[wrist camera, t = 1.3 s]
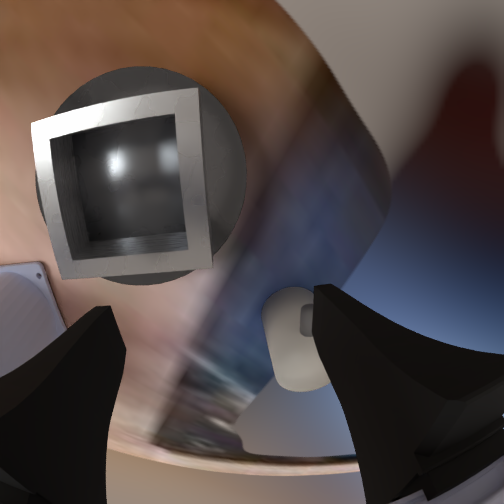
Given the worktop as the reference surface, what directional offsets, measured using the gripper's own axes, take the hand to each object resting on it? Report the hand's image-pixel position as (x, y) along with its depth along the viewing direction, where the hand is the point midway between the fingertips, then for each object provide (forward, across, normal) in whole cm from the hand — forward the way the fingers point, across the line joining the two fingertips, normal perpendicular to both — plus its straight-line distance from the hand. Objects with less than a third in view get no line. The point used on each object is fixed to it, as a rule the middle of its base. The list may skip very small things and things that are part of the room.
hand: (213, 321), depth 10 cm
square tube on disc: (+10, +4, -4) cm, 11 cm away
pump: (+10, -5, +7) cm, 13 cm away
